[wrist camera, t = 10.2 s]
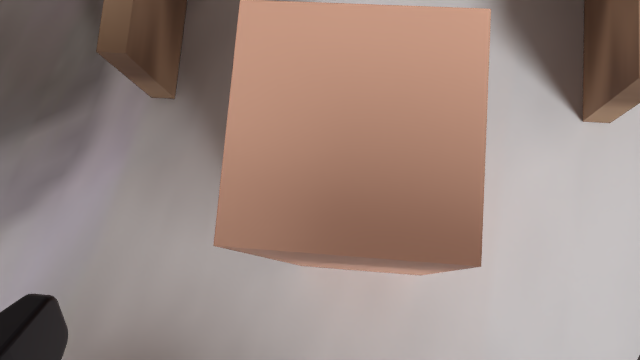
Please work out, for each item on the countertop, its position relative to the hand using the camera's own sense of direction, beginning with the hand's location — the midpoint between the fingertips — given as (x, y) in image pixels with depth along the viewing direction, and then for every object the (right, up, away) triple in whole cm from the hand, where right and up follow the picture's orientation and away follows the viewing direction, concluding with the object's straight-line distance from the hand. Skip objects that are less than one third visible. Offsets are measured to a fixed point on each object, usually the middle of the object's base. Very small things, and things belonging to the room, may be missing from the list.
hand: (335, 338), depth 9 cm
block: (+1, +1, +14) cm, 14 cm away
